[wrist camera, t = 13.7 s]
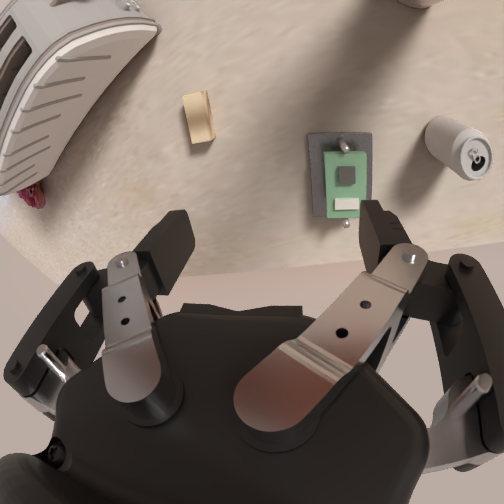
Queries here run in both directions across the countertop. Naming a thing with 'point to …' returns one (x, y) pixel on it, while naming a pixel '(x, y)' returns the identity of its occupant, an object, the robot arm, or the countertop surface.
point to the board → (345, 183)
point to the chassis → (316, 153)
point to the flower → (33, 195)
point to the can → (459, 148)
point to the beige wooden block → (199, 117)
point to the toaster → (58, 75)
